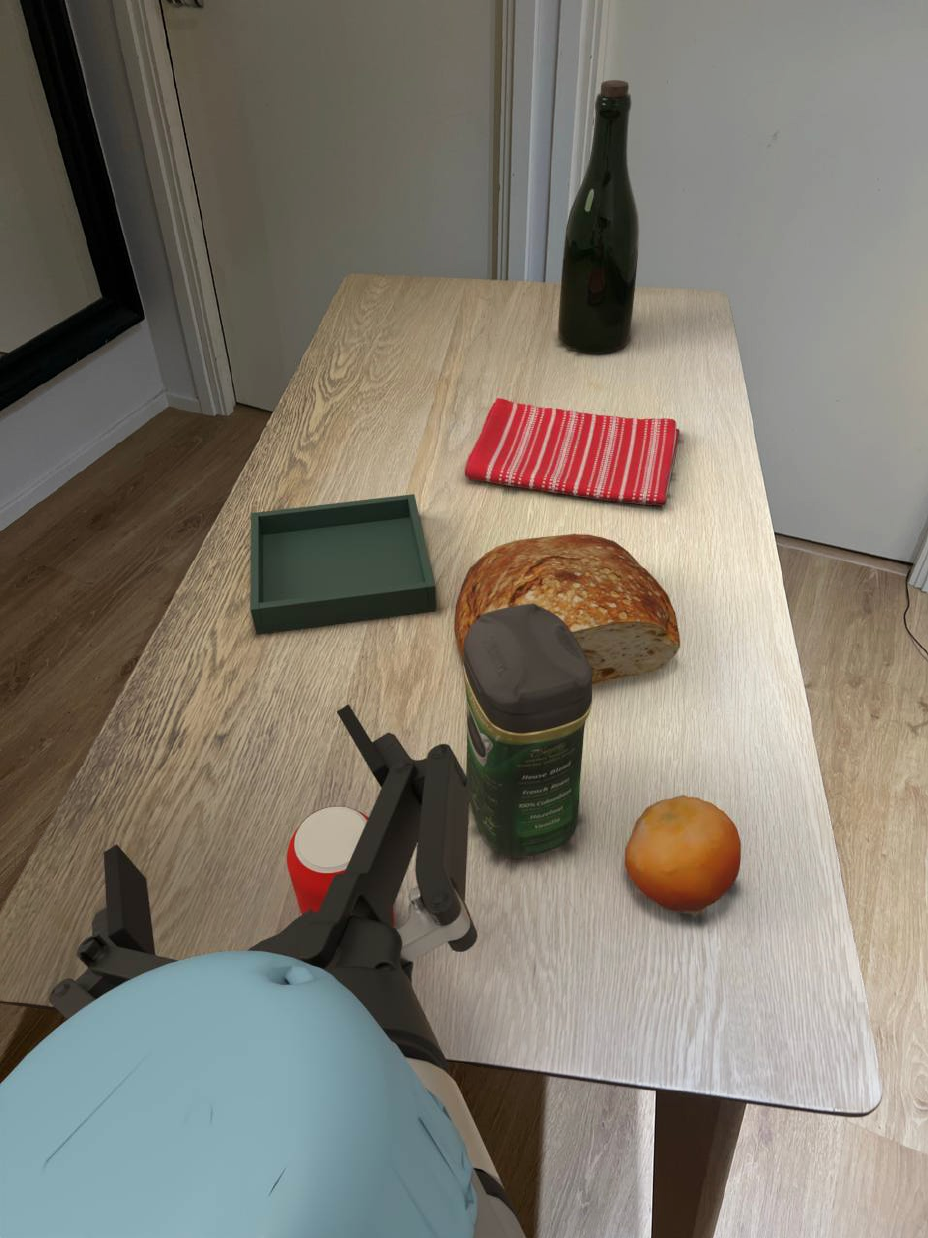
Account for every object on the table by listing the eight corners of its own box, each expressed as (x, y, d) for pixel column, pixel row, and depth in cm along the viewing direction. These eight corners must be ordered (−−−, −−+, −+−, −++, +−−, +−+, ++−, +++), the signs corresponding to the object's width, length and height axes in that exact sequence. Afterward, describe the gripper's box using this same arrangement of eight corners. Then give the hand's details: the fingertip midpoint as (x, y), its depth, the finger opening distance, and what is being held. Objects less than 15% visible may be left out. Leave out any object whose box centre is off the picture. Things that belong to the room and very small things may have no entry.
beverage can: (411, 911, 64) (399, 815, 56) (368, 988, 60) (349, 896, 52) (338, 879, 66) (317, 782, 58) (292, 952, 62) (262, 858, 54)
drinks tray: (256, 634, 86) (250, 609, 83) (256, 537, 97) (250, 512, 95) (436, 611, 88) (435, 585, 85) (416, 518, 99) (414, 493, 97)
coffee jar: (591, 845, 68) (615, 678, 55) (493, 874, 66) (494, 709, 53) (545, 750, 75) (556, 582, 62) (455, 774, 73) (448, 607, 60)
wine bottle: (632, 356, 126) (663, 91, 103) (558, 355, 126) (572, 92, 104) (626, 323, 133) (654, 71, 111) (556, 323, 134) (570, 71, 111)
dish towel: (495, 411, 115) (495, 392, 114) (679, 434, 110) (683, 415, 109) (459, 484, 103) (458, 464, 102) (664, 513, 98) (667, 493, 97)
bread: (470, 717, 77) (468, 635, 71) (441, 583, 91) (437, 503, 84) (695, 687, 79) (714, 604, 73) (635, 560, 93) (646, 480, 86)
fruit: (721, 957, 60) (683, 865, 57) (631, 924, 66) (593, 840, 63) (780, 877, 64) (747, 788, 61) (690, 853, 70) (656, 772, 67)
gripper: (65, 1430, 28) (67, 971, 47) (689, 982, 33) (468, 721, 51) (-96, 1339, 25) (-25, 880, 43) (631, 847, 29) (415, 618, 47)
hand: (242, 793), depth 47 cm, fingers open, 13 cm apart
